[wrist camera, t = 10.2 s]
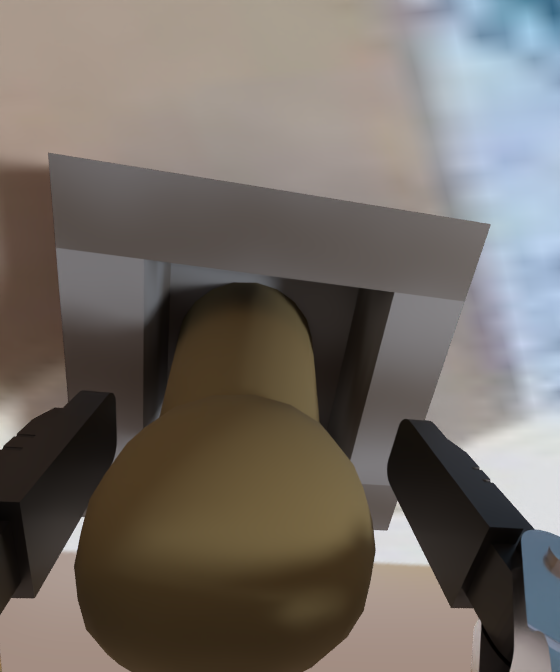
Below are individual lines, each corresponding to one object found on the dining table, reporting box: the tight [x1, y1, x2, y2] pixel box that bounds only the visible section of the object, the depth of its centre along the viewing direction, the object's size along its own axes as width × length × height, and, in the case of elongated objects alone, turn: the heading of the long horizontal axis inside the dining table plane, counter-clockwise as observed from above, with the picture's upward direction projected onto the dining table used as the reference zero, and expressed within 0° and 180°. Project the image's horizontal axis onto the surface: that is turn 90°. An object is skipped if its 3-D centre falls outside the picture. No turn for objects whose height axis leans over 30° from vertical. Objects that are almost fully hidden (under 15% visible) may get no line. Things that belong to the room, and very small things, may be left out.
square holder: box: [48, 153, 491, 530], centre depth 14 cm, size 13×13×4 cm
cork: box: [74, 282, 375, 672], centre depth 10 cm, size 6×6×11 cm
